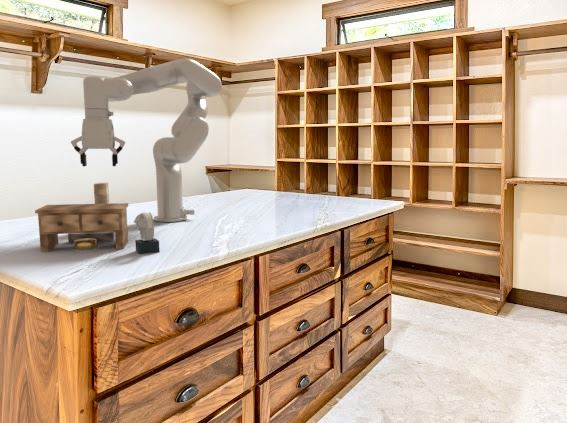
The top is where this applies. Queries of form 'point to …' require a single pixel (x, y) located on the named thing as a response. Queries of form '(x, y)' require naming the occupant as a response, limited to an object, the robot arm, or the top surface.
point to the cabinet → (82, 222)
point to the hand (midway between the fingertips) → (99, 166)
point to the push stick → (100, 198)
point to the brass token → (85, 243)
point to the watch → (146, 234)
